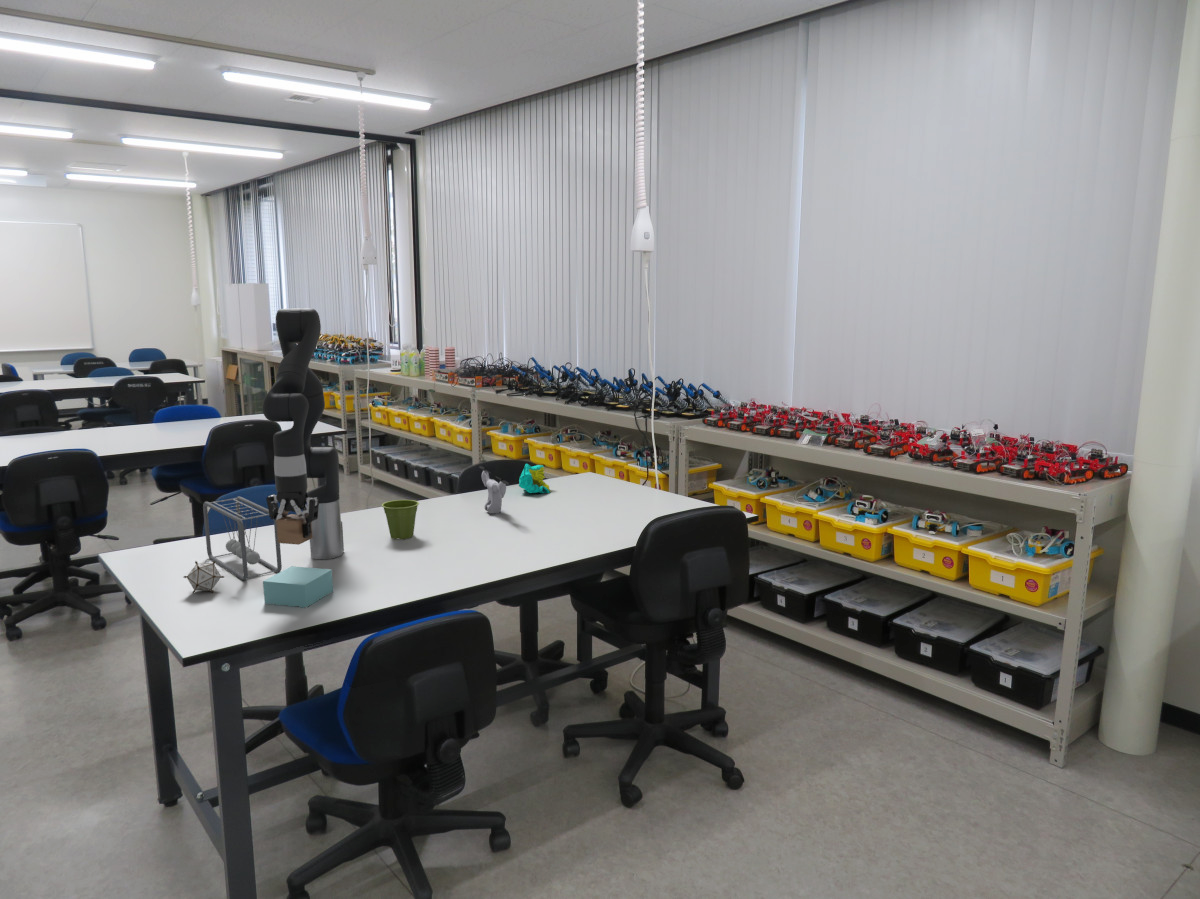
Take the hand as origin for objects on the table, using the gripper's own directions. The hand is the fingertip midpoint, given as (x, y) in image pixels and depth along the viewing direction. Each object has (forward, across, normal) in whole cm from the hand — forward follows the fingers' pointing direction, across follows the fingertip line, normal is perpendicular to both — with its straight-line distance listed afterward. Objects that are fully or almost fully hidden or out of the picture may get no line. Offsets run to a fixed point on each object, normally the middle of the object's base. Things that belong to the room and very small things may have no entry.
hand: (295, 535), depth 203 cm
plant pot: (+17, 0, -56) cm, 58 cm away
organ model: (+17, -21, -127) cm, 130 cm away
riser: (+17, 0, 0) cm, 17 cm away
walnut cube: (+1, 0, 0) cm, 1 cm away
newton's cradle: (+17, +31, -19) cm, 40 cm away
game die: (+17, +27, +2) cm, 32 cm away
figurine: (+17, -18, -92) cm, 95 cm away
